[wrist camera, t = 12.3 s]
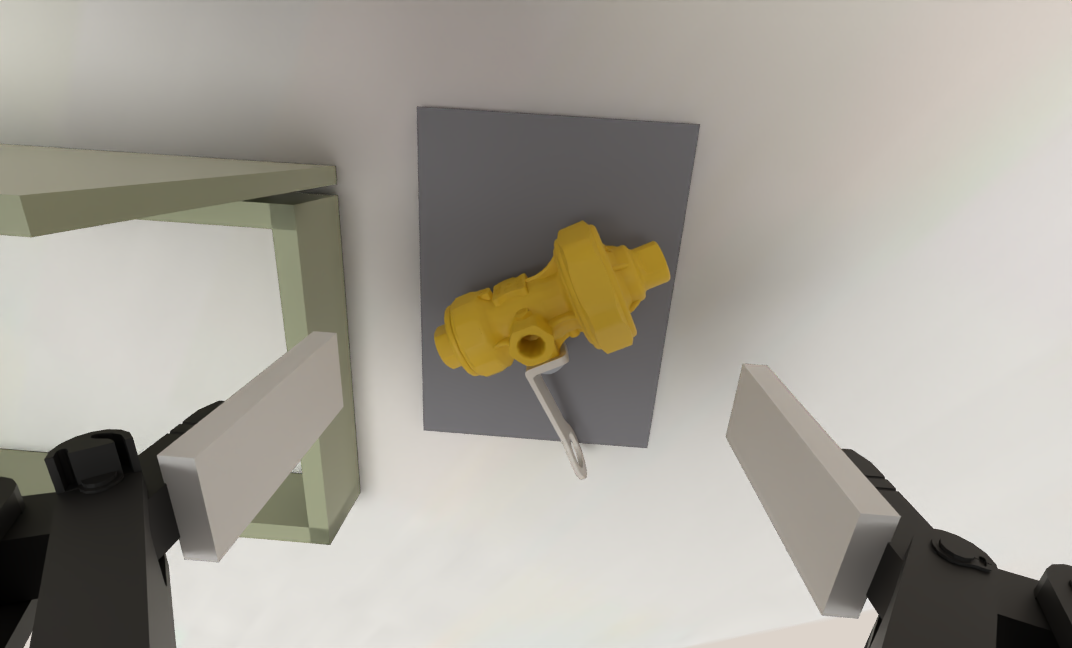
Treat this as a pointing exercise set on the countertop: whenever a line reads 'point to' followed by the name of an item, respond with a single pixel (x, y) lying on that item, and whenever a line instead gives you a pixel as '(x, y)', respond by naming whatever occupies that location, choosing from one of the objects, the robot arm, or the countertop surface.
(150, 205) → the case
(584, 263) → the pressure relief valve
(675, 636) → the countertop surface
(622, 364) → the pad
